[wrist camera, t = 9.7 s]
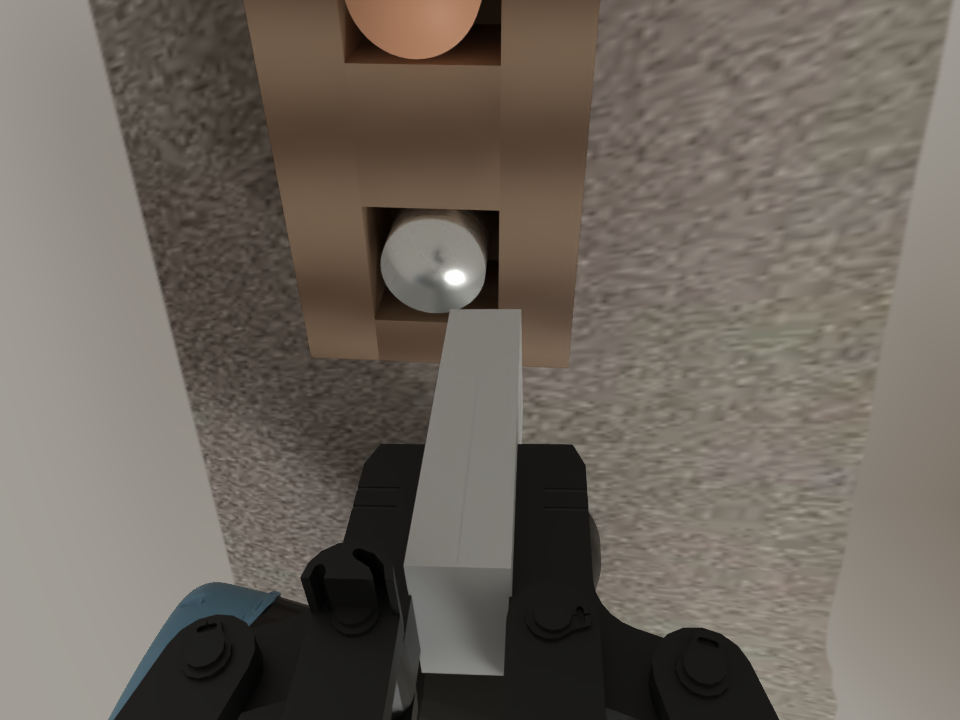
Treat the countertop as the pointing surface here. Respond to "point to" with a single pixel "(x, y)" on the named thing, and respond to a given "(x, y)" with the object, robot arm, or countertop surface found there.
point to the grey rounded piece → (437, 257)
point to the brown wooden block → (429, 164)
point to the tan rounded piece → (414, 24)
